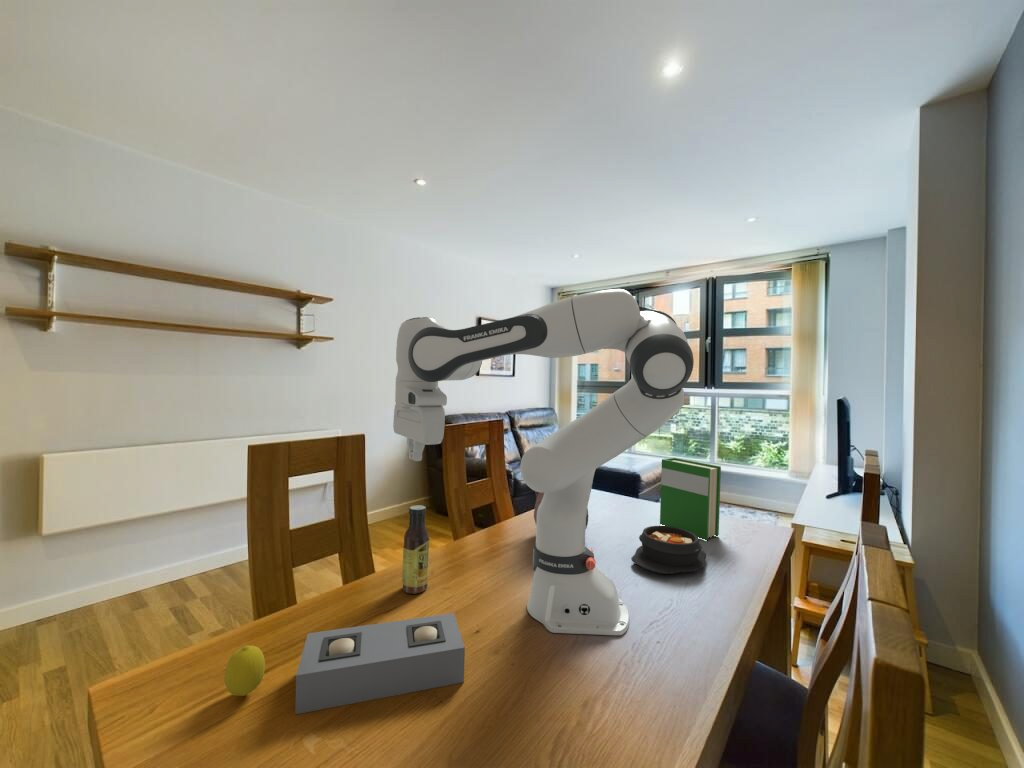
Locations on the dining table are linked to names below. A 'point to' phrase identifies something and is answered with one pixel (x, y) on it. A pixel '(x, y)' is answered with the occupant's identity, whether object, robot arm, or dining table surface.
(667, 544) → the casserole
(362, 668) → the peg block
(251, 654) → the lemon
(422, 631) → the peg inner
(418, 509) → the sauce bottle
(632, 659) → the dining table surface
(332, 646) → the peg outer
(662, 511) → the hardback book
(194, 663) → the dining table surface
